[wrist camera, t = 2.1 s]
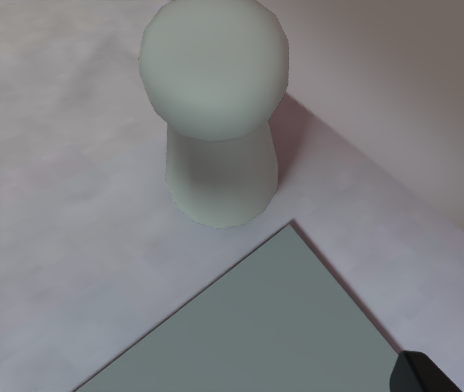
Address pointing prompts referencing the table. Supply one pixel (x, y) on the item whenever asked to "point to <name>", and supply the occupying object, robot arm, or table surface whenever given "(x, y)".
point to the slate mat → (260, 334)
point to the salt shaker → (217, 104)
